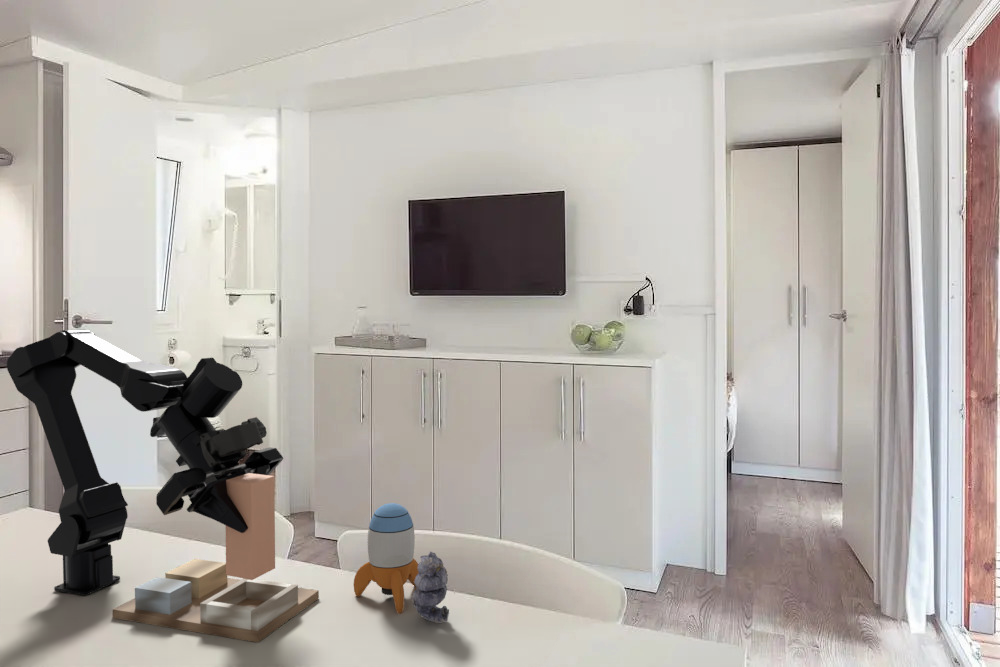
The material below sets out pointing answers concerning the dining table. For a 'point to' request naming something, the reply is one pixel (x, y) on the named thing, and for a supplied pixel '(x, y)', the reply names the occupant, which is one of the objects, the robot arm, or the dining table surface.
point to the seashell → (431, 589)
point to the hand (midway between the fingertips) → (258, 525)
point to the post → (252, 526)
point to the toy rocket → (389, 553)
